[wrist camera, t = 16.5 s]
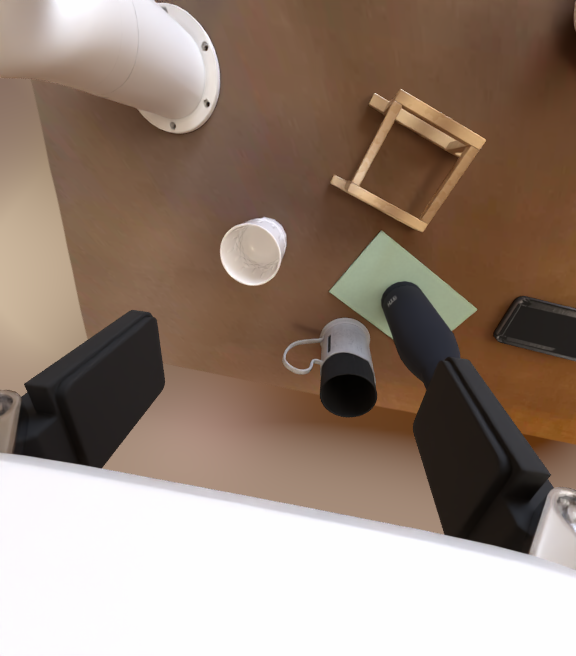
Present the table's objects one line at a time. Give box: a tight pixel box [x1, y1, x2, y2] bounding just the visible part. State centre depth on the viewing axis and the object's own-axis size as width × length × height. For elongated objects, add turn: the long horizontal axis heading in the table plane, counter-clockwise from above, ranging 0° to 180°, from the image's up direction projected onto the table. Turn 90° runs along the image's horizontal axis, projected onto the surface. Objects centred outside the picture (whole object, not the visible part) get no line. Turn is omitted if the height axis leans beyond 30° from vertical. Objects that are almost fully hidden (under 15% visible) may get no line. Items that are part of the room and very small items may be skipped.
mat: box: [329, 230, 477, 339], centre depth 48 cm, size 20×12×1 cm, turn 54°
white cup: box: [220, 217, 287, 286], centre depth 42 cm, size 8×8×10 cm
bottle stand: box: [330, 89, 486, 232], centre depth 35 cm, size 14×11×9 cm
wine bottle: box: [381, 281, 460, 390], centre depth 34 cm, size 6×6×30 cm
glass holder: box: [283, 318, 377, 417], centre depth 46 cm, size 9×14×15 cm, turn 71°
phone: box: [494, 296, 576, 361], centre depth 46 cm, size 8×1×15 cm
